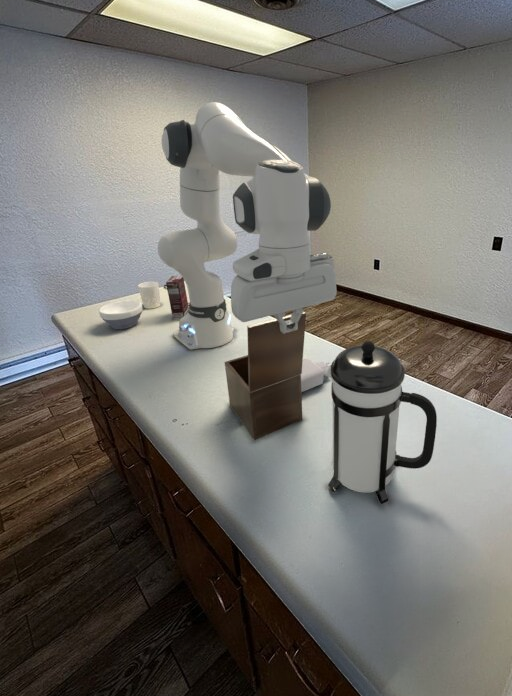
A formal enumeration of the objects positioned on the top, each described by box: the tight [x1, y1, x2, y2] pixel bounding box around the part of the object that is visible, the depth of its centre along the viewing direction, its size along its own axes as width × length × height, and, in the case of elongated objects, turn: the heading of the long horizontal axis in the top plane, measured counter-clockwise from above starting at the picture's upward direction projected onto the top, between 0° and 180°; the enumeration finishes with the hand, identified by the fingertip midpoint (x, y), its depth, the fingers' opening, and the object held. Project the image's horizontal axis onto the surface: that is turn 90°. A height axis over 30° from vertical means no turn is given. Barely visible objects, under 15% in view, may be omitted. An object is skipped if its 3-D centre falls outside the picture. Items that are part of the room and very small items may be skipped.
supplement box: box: [165, 275, 189, 321], centre depth 145 cm, size 9×5×16 cm, turn 6°
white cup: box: [137, 281, 162, 310], centre depth 156 cm, size 8×8×10 cm
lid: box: [246, 311, 307, 392], centre depth 75 cm, size 16×13×1 cm
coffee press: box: [323, 340, 438, 505], centre depth 66 cm, size 17×16×30 cm
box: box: [224, 354, 303, 441], centre depth 88 cm, size 16×13×13 cm
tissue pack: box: [301, 358, 331, 393], centre depth 103 cm, size 5×9×15 cm
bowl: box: [98, 299, 144, 330], centre depth 138 cm, size 14×14×8 cm
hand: (289, 330), depth 68 cm, fingers closed
